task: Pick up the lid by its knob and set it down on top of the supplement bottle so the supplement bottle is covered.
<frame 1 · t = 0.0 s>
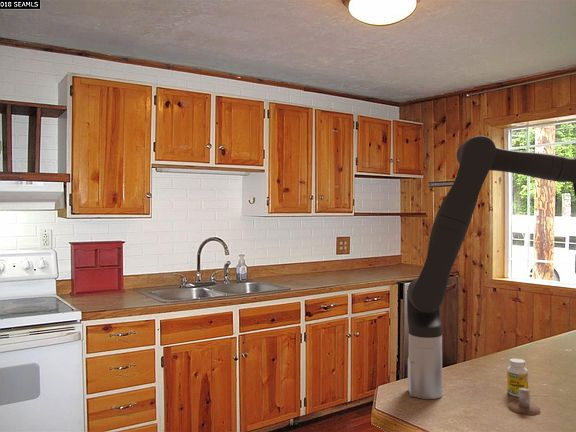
supplement bottle: (517, 394, 145), on the table
lid: (524, 409, 134), on the table
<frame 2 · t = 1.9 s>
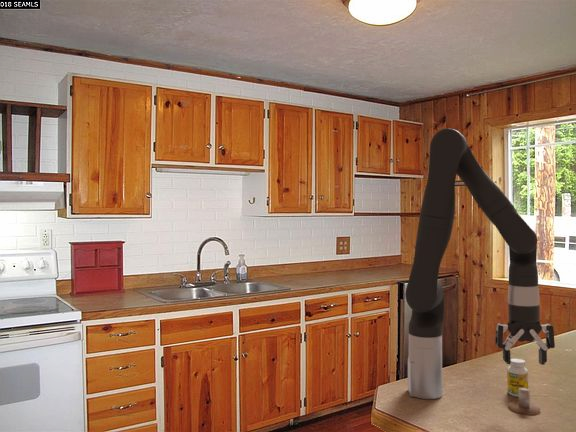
hand: (524, 363, 133), 12 cm above the table, fingers open, 8 cm apart
nothing on the table moved.
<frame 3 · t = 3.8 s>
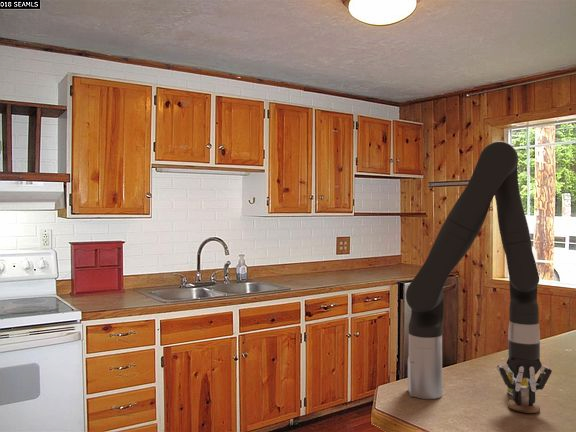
hand: (524, 404, 134), 1 cm above the table, fingers closed on lid, 2 cm apart
lid: (523, 407, 134), on the table, touching gripper
everything else where it was.
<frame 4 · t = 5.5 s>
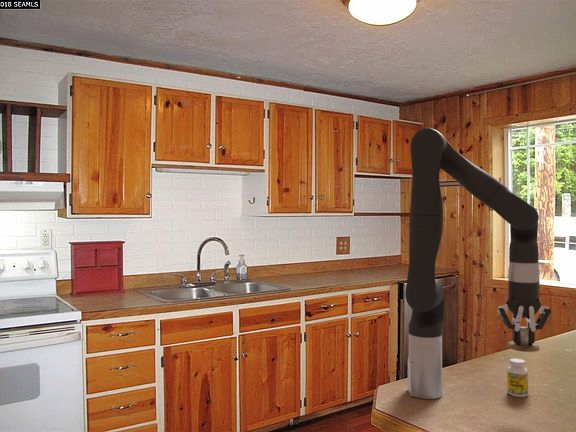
hand: (523, 344, 134), 17 cm above the table, fingers closed on lid, 2 cm apart
lid: (523, 347, 134), point 16 cm above the table, touching gripper
everything else where it was.
when the fingers open (13 cm above the table, at t = 7.4 s): lid drops 2 cm, resting on supplement bottle.
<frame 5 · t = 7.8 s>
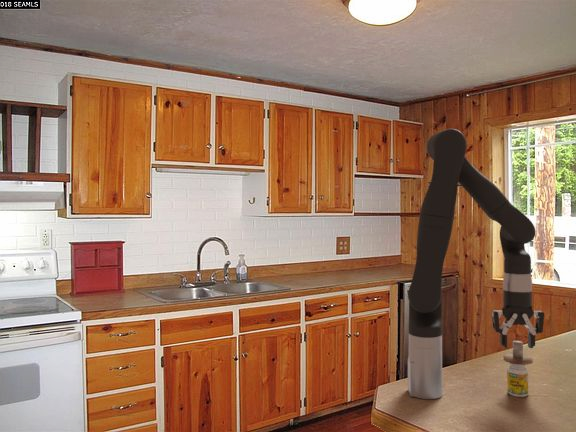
hand: (517, 347, 144), 13 cm above the table, fingers open, 6 cm apart
supplement bottle: (517, 394, 145), on the table, touching lid
lid: (517, 360, 144), point 10 cm above the table, touching supplement bottle
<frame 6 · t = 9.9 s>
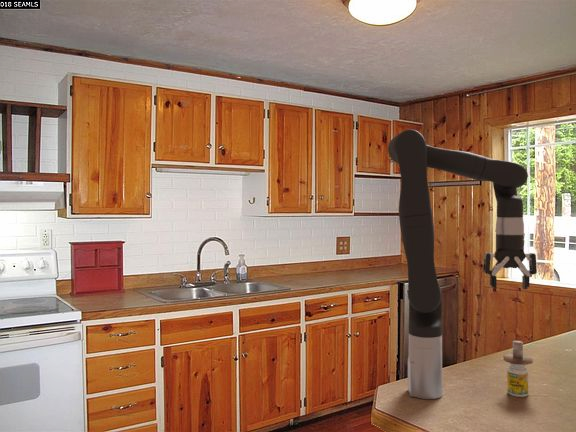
hand: (509, 288, 148), 29 cm above the table, fingers open, 8 cm apart
nothing on the table moved.
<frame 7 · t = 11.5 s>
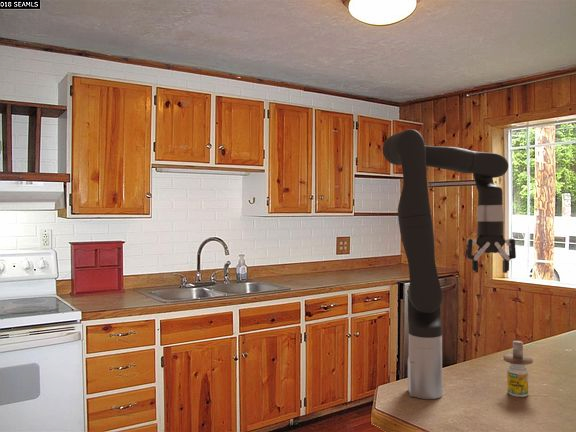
hand: (490, 272, 156), 33 cm above the table, fingers open, 8 cm apart
nothing on the table moved.
at the end: lid 0.1 cm off-centre on the supplement bottle, point 9.8 cm above the supplement bottle's base; supplement bottle tilted 0°; the gripper is holding nothing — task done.
